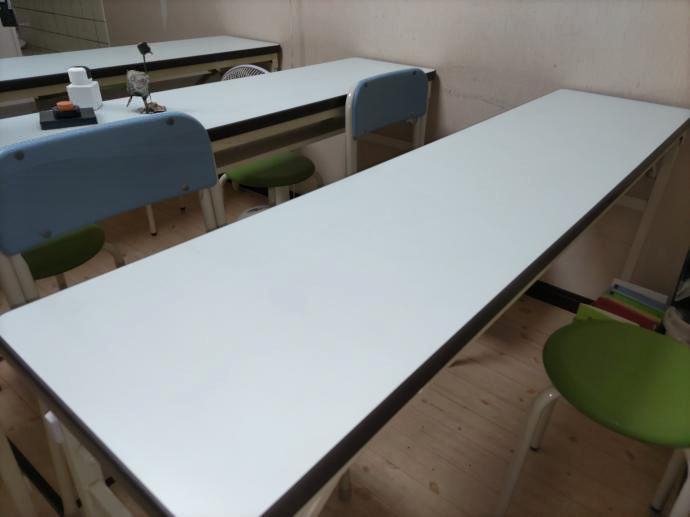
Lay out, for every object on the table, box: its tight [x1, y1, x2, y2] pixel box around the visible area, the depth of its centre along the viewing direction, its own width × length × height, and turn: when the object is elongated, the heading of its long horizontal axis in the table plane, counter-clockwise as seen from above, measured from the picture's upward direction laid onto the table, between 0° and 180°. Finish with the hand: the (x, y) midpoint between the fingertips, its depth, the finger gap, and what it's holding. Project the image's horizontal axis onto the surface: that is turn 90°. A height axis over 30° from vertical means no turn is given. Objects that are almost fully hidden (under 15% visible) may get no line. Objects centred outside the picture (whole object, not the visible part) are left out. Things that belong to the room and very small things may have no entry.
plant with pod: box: [125, 40, 167, 115], centre depth 151 cm, size 8×11×20 cm
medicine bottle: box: [65, 65, 104, 111], centre depth 155 cm, size 7×7×12 cm
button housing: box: [38, 105, 99, 131], centre depth 144 cm, size 14×11×4 cm
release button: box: [56, 100, 74, 110], centre depth 142 cm, size 4×4×2 cm
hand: (10, 26), depth 128 cm, fingers closed
